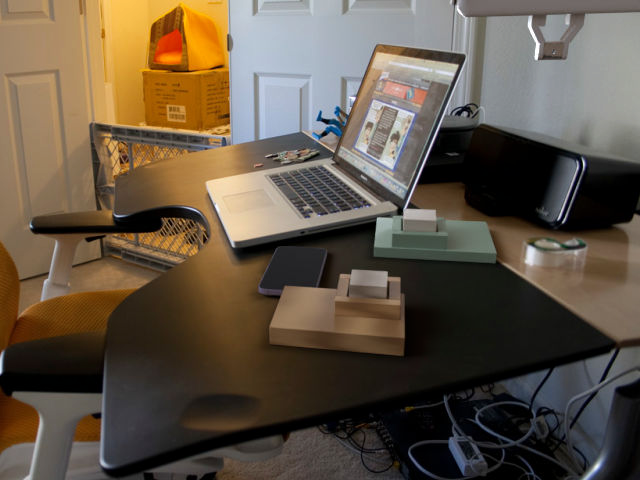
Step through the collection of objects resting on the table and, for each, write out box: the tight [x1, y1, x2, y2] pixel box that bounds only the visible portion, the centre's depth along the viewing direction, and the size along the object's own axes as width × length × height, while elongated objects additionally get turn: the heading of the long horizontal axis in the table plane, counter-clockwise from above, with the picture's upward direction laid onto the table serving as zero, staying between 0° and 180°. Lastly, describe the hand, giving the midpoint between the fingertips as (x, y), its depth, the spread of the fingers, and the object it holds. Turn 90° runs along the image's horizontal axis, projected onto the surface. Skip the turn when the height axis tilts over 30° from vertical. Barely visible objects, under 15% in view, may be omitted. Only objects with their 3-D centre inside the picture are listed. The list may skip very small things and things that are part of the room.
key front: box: [349, 269, 389, 299], centre depth 71 cm, size 4×4×2 cm
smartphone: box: [258, 245, 328, 297], centre depth 84 cm, size 7×1×15 cm
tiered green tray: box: [373, 215, 498, 264], centre depth 91 cm, size 16×12×4 cm
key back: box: [402, 208, 438, 232], centre depth 89 cm, size 4×4×2 cm
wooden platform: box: [268, 273, 406, 357], centre depth 71 cm, size 14×10×4 cm
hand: (550, 59), depth 69 cm, fingers closed
